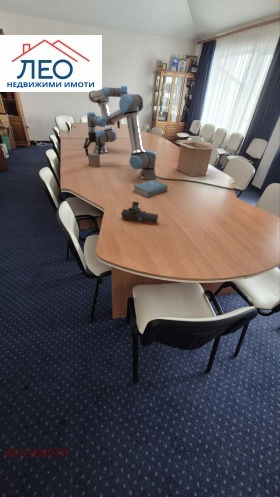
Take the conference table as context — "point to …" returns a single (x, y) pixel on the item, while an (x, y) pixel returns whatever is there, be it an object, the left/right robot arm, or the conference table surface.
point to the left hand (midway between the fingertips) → (123, 128)
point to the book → (150, 188)
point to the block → (94, 159)
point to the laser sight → (138, 214)
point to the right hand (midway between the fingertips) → (93, 155)
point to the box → (194, 157)
